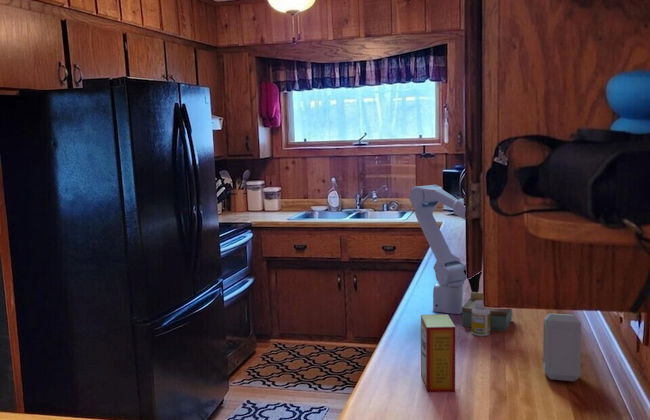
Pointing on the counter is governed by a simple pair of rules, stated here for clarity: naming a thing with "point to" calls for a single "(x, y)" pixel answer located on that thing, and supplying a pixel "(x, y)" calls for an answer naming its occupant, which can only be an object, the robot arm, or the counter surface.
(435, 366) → the baking soda box
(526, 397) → the counter surface
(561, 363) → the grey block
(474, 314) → the supplement bottle
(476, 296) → the lid
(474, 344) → the counter surface
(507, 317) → the teal shallow tray
